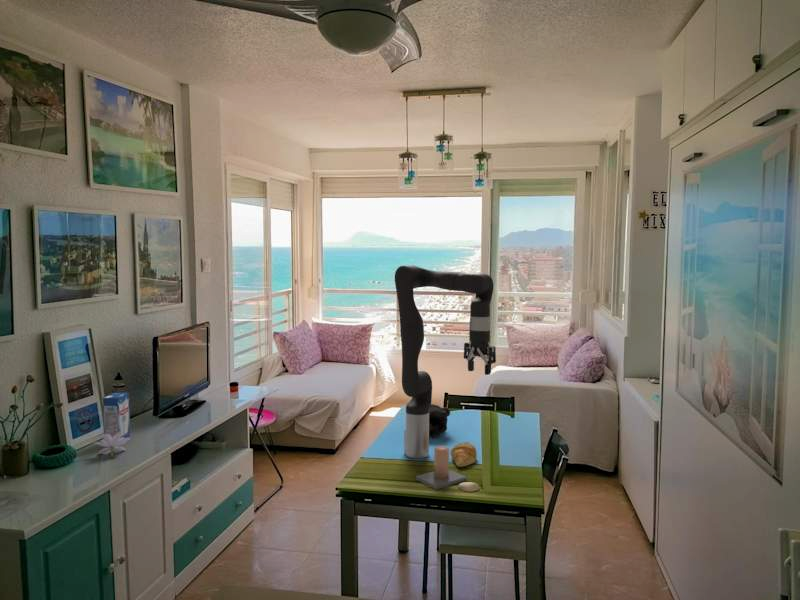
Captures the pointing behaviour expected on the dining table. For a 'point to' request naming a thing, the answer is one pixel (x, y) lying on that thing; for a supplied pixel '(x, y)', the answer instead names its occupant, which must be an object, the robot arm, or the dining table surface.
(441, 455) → the pinkish tan rounded cylinder
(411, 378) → the robot arm
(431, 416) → the puffin
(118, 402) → the milk carton
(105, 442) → the water lily
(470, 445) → the croissant
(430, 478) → the slate board
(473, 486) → the cork coaster
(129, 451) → the dining table surface
